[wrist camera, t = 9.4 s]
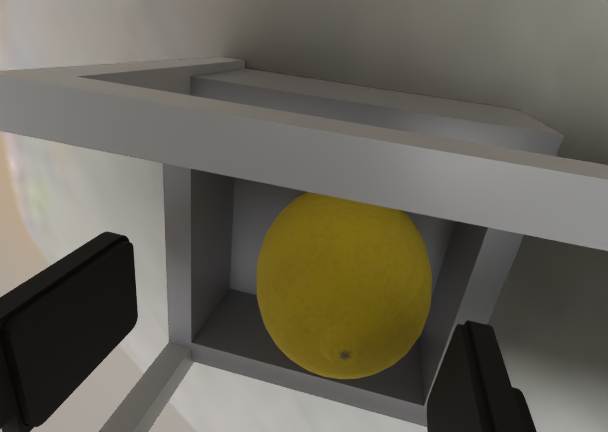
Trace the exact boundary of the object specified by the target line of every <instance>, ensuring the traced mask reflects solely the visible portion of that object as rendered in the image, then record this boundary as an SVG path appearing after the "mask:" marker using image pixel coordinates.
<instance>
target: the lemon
mask: <svg viewBox="0 0 608 432" xmlns="http://www.w3.org/2000/svg"><path fill="white" fill-rule="evenodd" d="M431 287H432V271H431V266H430V262H429V258H428V254H427V250H426V246H425V243H424V240H423V238H422V237H421V235H420V233H419V231H418V230H417V228H416V226H415V225H414V223H413V221H412V219H411V218H410V217H409V216H408V214H406V213H405V212H404V211H403V210H398V209H393V208H388V207H383V206H377V205H372V204H367V203H362V202H357V201H352V200H347V199H342V198H337V197H332V196H327V195H322V194H317V193H312V192H306V193H304V194H302V195H300V196H298V197H297V198H296V199H294V200H293V201H292V202H291V203H290V204H289V205H288V206H287V207H285V208H284V209H283V210H282V211H281V212H280V213H279V215H278V216H277V217H276V219H275V221H274V222H273V224H272V225H271V227H270V228H269V230H268V231H267V233H266V235H265V238H264V241H263V244H262V248H261V251H260V254H259V257H258V262H257V300H258V304H259V308H260V312H261V315H262V319H263V322H264V324H265V327H266V329H267V331H268V332H269V334H270V336H271V337H272V339H273V341H274V342H275V344H276V345H277V346H278V348H279V349H280V350H281V351H282V352H283V353H284V354H285V355H286V356H287V357H288V358H289V359H290V360H292V361H293V362H295V363H297V364H298V365H300V366H301V367H303V368H305V369H306V370H308V371H310V372H313V373H316V374H319V375H321V376H324V377H330V378H336V379H357V378H362V377H366V376H370V375H374V374H376V373H378V372H380V371H382V370H384V369H386V368H388V367H390V366H392V365H394V364H395V363H396V362H397V361H399V360H400V359H401V358H402V357H403V356H405V355H406V354H407V353H408V351H409V350H410V349H411V347H412V346H413V345H414V343H415V342H416V341H417V339H418V338H419V336H420V335H421V333H422V330H423V327H424V325H425V322H426V319H427V316H428V314H429V311H430V305H431Z"/></svg>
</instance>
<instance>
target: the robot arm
mask: <svg viewBox="0 0 608 432" xmlns="http://www.w3.org/2000/svg"><path fill="white" fill-rule="evenodd" d="M137 318H138V312H137V297H136V282H135V266H134V251H133V245H132V243H130V242H129V239H128V238H127V237H126V236H124V235H120V234H115V233H111V232H104V233H102V234H100V235H98V236H97V237H95V238H94V239H92V240H91V241H89V242H87V243H86V244H84V245H83V246H81V247H79V248H78V249H76V250H75V251H73V252H72V253H70V254H68V255H67V256H65V257H64V258H62V259H60V260H59V261H57V262H56V263H54V264H53V265H51V266H49V267H48V268H46V269H45V270H43V271H41V272H40V273H38V274H37V275H35V276H34V277H32V278H31V279H29V280H27V281H26V282H24V283H22V284H21V285H19V286H18V287H16V288H15V289H13V290H11V291H10V292H8V293H7V294H5V295H3V296H2V297H0V429H1V428H2V432H30V431H31V430H32V429H33V428H34V427H38V426H40V425H42V424H43V423H44V422H45V421H46V420H47V419H48V418H49V417H50V416H51V415H52V414H53V413H54V412H55V411H56V409H57V408H58V407H59V406H60V405H61V404H62V403H63V402H64V401H65V400H66V399H67V398H68V397H69V396H70V395H71V394H72V393H73V391H74V390H75V389H76V388H77V387H78V386H79V385H80V384H81V383H82V382H83V381H84V380H85V379H86V378H87V377H88V376H89V375H90V374H91V372H92V371H93V370H94V369H95V368H96V367H97V366H98V365H99V364H100V363H101V362H102V361H103V360H104V359H105V358H106V357H107V356H108V354H109V353H110V352H111V351H112V350H113V349H114V348H115V347H116V346H117V345H118V344H119V343H120V342H121V341H122V340H123V339H124V338H125V337H126V335H127V334H128V333H129V332H130V331H131V330H132V329H133V328H134V326H135V324H136V322H137ZM427 428H428V432H536V429H535V426H534V423H533V420H532V417H531V414H530V411H529V408H528V406H527V403H526V400H525V397H524V395H523V393H522V392H521V391H520V390H519V389H517V388H513V387H512V386H511V383H510V380H509V377H508V374H507V370H506V367H505V364H504V361H503V358H502V355H501V352H500V348H499V345H498V342H497V339H496V336H495V333H494V330H493V328H492V326H490V325H486V324H482V323H478V322H473V321H469V320H467V321H466V322H465V324H464V325H461V324H457V325H456V327H455V330H454V332H453V335H452V338H451V340H450V343H449V345H448V348H447V351H446V353H445V356H444V358H443V361H442V364H441V366H440V369H439V371H438V374H437V377H436V379H435V382H434V384H433V387H432V390H431V392H430V395H429V398H428V402H427Z"/></svg>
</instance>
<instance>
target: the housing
mask: <svg viewBox="0 0 608 432" xmlns="http://www.w3.org/2000/svg"><path fill="white" fill-rule="evenodd" d="M0 131H4V132H9V133H14V134H19V135H24V136H29V137H34V138H39V139H44V140H49V141H54V142H59V143H64V144H69V145H74V146H79V147H84V148H89V149H95V150H100V151H105V152H110V153H115V154H120V155H125V156H130V157H135V158H140V159H145V160H150V161H155V162H160V163H163V182H164V211H165V240H166V269H167V298H168V326H169V343H168V344H167V345H166V347H165V348H164V349H163V351H162V352H161V353H160V354H159V356H158V357H157V358H156V359H155V361H154V362H153V363H152V365H151V366H150V367H149V368H148V370H147V371H146V372H145V373H144V375H143V376H142V377H141V379H140V380H139V381H138V382H137V384H136V385H135V387H134V388H133V389H132V390H131V391H130V393H129V394H128V395H127V396H126V398H125V399H124V400H123V402H122V403H121V404H120V405H119V407H118V408H117V409H116V410H115V412H114V413H113V414H112V416H111V417H110V418H109V419H108V421H107V422H106V423H105V424H104V426H103V427H102V428H101V430H100V431H99V432H148V431H149V430H150V428H151V427H152V425H153V423H154V422H155V421H156V419H157V417H158V416H159V414H160V413H161V411H162V410H163V408H164V407H165V405H166V404H167V402H168V401H169V399H170V398H171V396H172V395H173V393H174V392H175V390H176V389H177V387H178V385H179V384H180V382H181V381H182V379H183V378H184V376H185V375H186V373H187V372H188V370H189V369H190V367H191V366H192V364H193V363H194V362H197V363H201V364H204V365H208V366H211V367H215V368H219V369H222V370H226V371H229V372H233V373H236V374H240V375H244V376H247V377H251V378H254V379H258V380H261V381H265V382H269V383H272V384H276V385H279V386H283V387H286V388H290V389H294V390H297V391H301V392H304V393H308V394H311V395H315V396H319V397H322V398H326V399H329V400H333V401H336V402H340V403H344V404H347V405H351V406H354V407H358V408H361V409H365V410H368V411H372V412H376V413H379V414H383V415H386V416H390V417H393V418H397V419H401V420H404V421H408V422H411V423H415V424H418V425H422V426H426V427H427V402H428V398H429V395H430V392H431V390H432V387H433V384H434V382H435V379H436V377H437V374H438V371H439V369H440V366H441V364H442V361H443V358H444V356H445V353H446V351H447V348H448V345H449V343H450V340H451V338H452V335H453V332H454V330H455V327H456V325H457V324H461V325H464V324H465V322H466V321H467V320H469V321H473V322H478V323H482V324H486V325H488V323H489V320H490V318H491V316H492V313H493V311H494V308H495V306H496V303H497V301H498V298H499V296H500V293H501V291H502V289H503V286H504V284H505V281H506V279H507V276H508V274H509V271H510V269H511V266H512V264H513V262H514V259H515V257H516V254H517V252H518V249H519V247H520V244H521V242H522V239H523V237H524V235H529V236H534V237H539V238H544V239H549V240H554V241H559V242H564V243H570V244H575V245H580V246H585V247H590V248H595V249H600V250H605V251H608V165H604V164H598V163H592V162H586V161H580V160H574V159H568V158H562V157H556V156H557V154H558V151H559V149H560V146H561V144H562V141H563V139H564V136H565V135H563V134H561V133H559V132H557V131H556V130H554V129H552V128H550V127H548V126H547V125H545V124H543V123H541V122H539V121H538V120H536V119H534V118H532V117H530V116H529V115H527V114H525V113H523V112H521V111H520V110H517V109H510V108H504V107H497V106H490V105H484V104H477V103H471V102H464V101H457V100H451V99H444V98H438V97H431V96H424V95H418V94H411V93H405V92H398V91H391V90H385V89H378V88H372V87H365V86H358V85H352V84H345V83H339V82H332V81H325V80H319V79H312V78H306V77H299V76H292V75H286V74H279V73H273V72H266V71H259V70H253V69H246V68H245V60H240V59H233V58H226V57H211V58H195V59H180V60H164V61H149V62H133V63H117V64H102V65H86V66H71V67H55V68H40V69H24V70H9V71H0ZM306 192H312V193H317V194H322V195H327V196H332V197H337V198H342V199H347V200H352V201H357V202H362V203H367V204H372V205H377V206H383V207H388V208H393V209H398V210H403V211H404V212H405V213H406V214H408V216H409V217H410V218H411V219H412V221H413V223H414V225H415V226H416V228H417V230H418V231H419V233H420V235H421V237H422V238H423V240H424V243H425V246H426V250H427V254H428V258H429V262H430V266H431V271H432V287H431V305H430V311H429V314H428V316H427V319H426V322H425V325H424V327H423V330H422V333H421V335H420V336H419V338H418V339H417V341H416V342H415V343H414V345H413V346H412V347H411V349H410V350H409V351H408V353H407V354H406V355H405V356H403V357H402V358H401V359H400V360H399V361H397V362H396V363H395V364H394V365H392V366H390V367H388V368H386V369H384V370H382V371H380V372H378V373H376V374H374V375H370V376H366V377H362V378H357V379H336V378H330V377H324V376H321V375H319V374H316V373H313V372H310V371H308V370H306V369H305V368H303V367H301V366H300V365H298V364H297V363H295V362H293V361H292V360H290V359H289V358H288V357H287V356H286V355H285V354H284V353H283V352H282V351H281V350H280V349H279V348H278V346H277V345H276V344H275V342H274V341H273V339H272V337H271V336H270V334H269V332H268V331H267V329H266V327H265V324H264V322H263V319H262V315H261V312H260V308H259V304H258V300H257V262H258V257H259V254H260V251H261V248H262V244H263V241H264V238H265V235H266V233H267V231H268V230H269V228H270V227H271V225H272V224H273V222H274V221H275V219H276V217H277V216H278V215H279V213H280V212H281V211H282V210H283V209H284V208H285V207H287V206H288V205H289V204H290V203H291V202H292V201H293V200H294V199H296V198H297V197H298V196H300V195H302V194H304V193H306Z"/></svg>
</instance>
